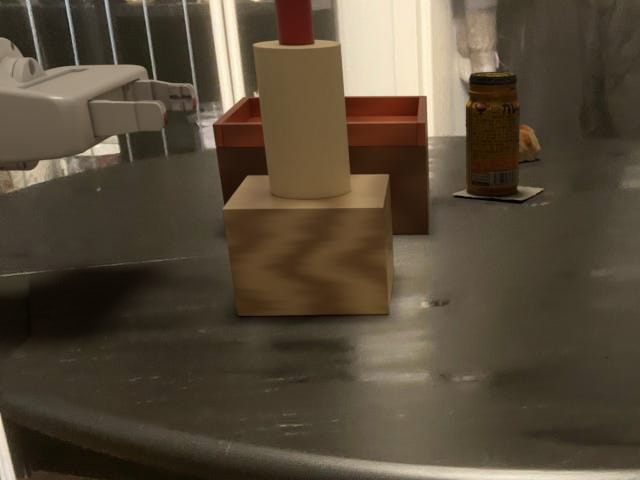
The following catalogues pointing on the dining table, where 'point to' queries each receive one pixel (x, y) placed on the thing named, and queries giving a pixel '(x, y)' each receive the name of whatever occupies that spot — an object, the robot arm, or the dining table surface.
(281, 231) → the birch block
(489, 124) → the condiment
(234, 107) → the tray stand
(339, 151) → the sauce bottle
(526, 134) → the pastry
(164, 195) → the dining table surface
